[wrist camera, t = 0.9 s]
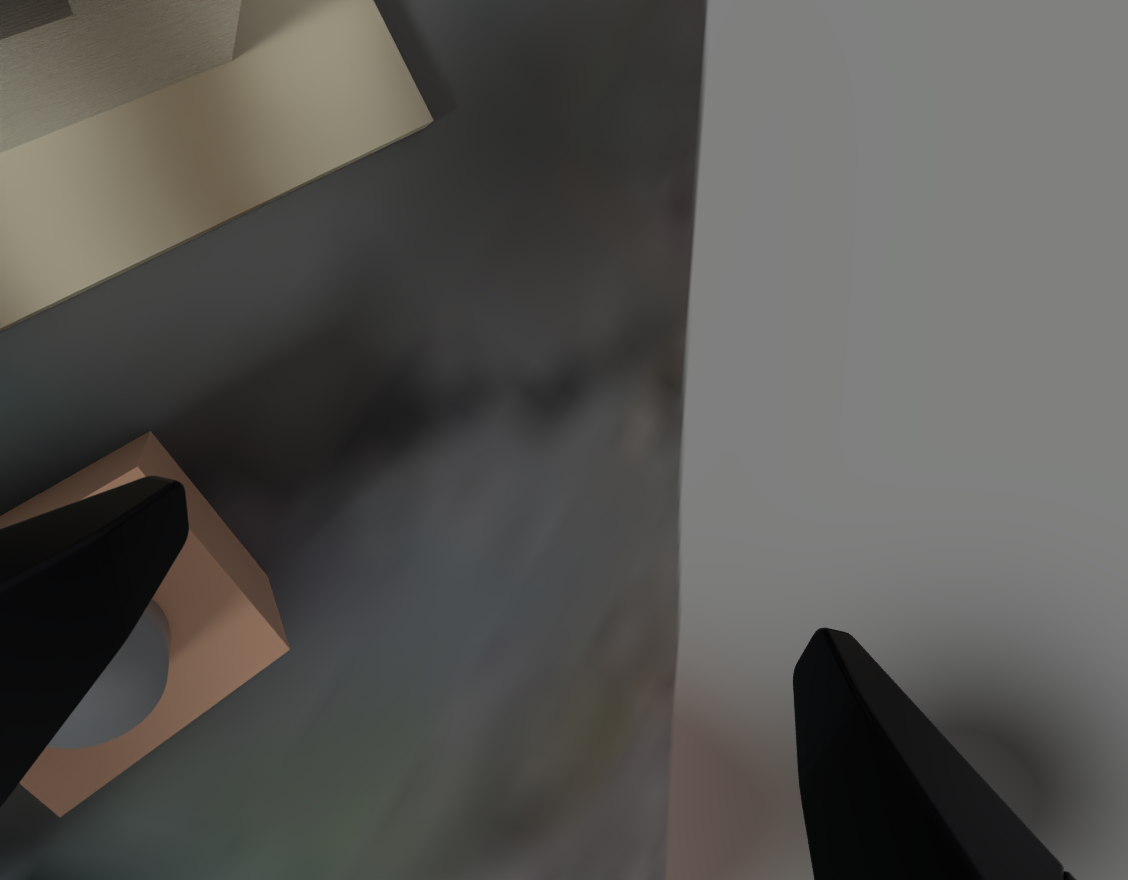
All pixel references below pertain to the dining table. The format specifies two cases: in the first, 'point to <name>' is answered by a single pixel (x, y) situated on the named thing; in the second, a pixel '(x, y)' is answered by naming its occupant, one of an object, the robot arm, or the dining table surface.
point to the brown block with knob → (158, 638)
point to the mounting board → (201, 149)
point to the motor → (100, 56)
